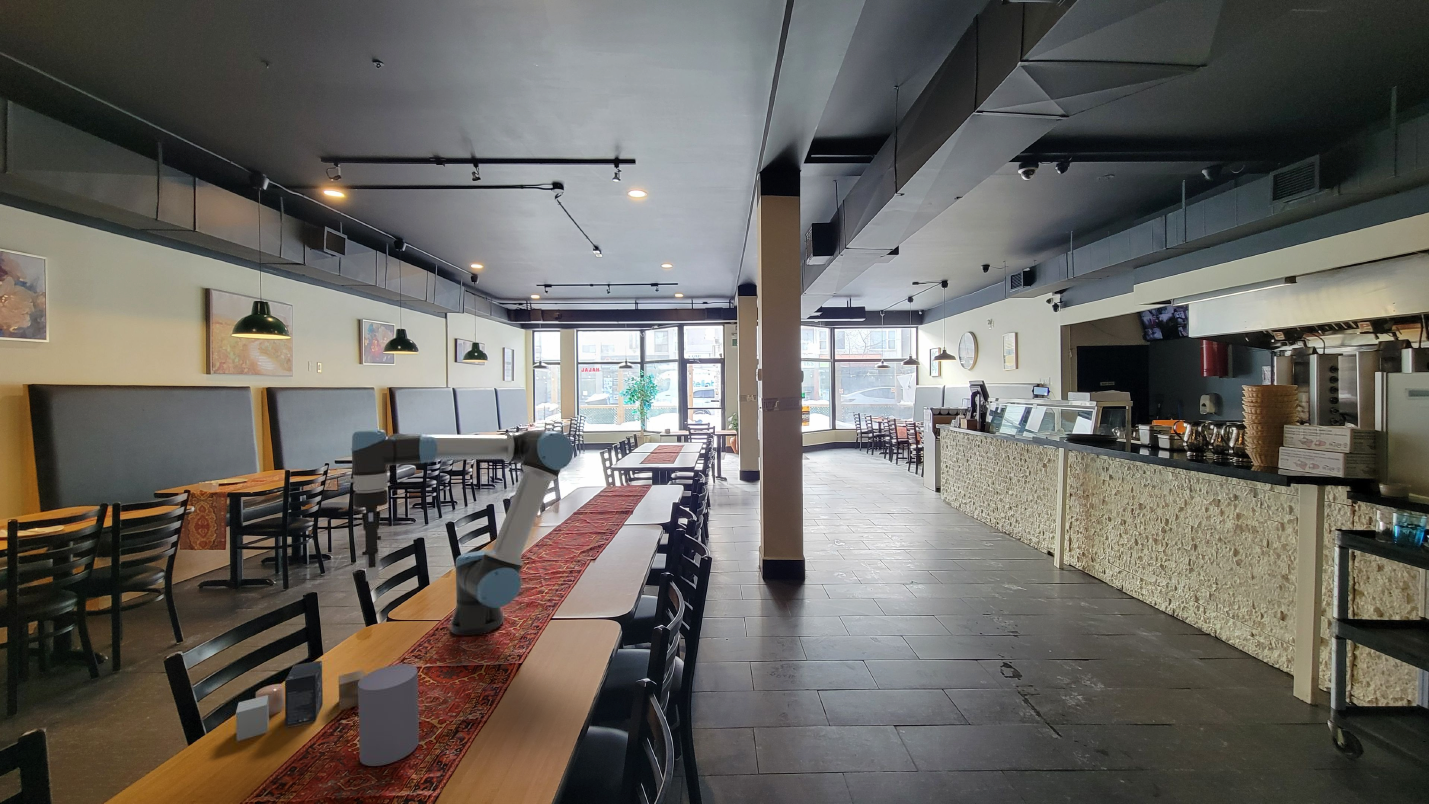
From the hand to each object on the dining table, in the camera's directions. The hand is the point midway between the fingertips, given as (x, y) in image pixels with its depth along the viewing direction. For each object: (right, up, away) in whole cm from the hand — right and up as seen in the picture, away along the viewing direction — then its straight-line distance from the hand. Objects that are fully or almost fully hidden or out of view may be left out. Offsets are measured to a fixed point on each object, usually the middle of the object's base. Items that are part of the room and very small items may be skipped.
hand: (372, 572), depth 142 cm
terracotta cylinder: (-14, -27, -15) cm, 34 cm away
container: (+22, -27, -31) cm, 46 cm away
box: (-4, -27, -17) cm, 33 cm away
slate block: (-12, -27, -23) cm, 37 cm away
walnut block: (+3, -27, -12) cm, 30 cm away
